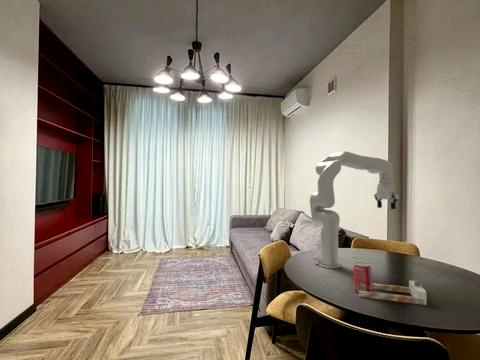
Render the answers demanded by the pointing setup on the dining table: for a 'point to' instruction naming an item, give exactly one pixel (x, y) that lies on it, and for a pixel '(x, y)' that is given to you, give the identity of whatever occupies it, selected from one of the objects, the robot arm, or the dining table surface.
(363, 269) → the soda can
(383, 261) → the dining table surface
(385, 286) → the guide channel
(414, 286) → the connector block
